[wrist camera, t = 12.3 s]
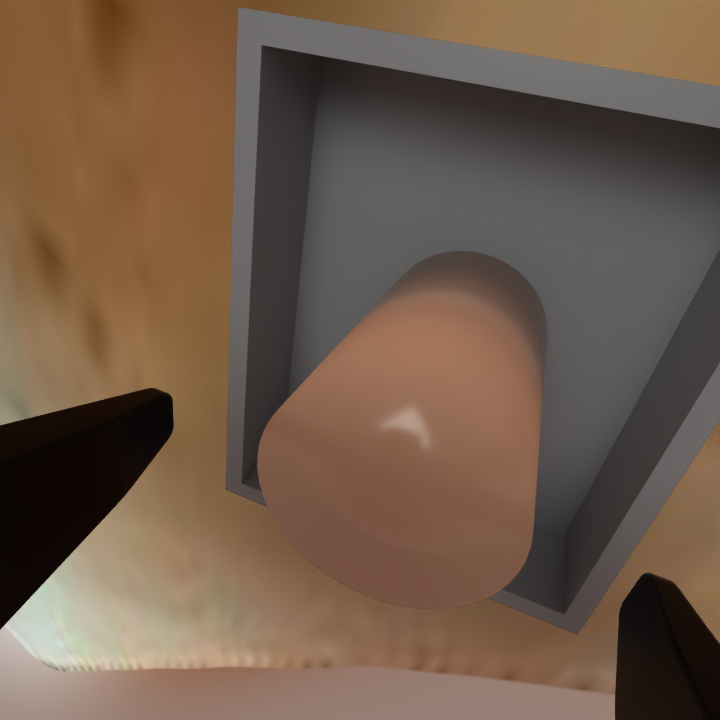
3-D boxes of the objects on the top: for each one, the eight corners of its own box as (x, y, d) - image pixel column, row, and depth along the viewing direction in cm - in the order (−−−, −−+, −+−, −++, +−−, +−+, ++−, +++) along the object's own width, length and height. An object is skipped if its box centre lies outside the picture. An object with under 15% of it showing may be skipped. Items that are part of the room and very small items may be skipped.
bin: (811, 113, 11) (919, 119, 8) (574, 537, 18) (577, 634, 15) (316, 29, 14) (238, 7, 10) (279, 427, 21) (225, 489, 18)
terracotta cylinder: (574, 276, 14) (583, 446, 7) (516, 421, 16) (482, 646, 9) (400, 232, 15) (265, 340, 8) (372, 373, 17) (251, 545, 11)
